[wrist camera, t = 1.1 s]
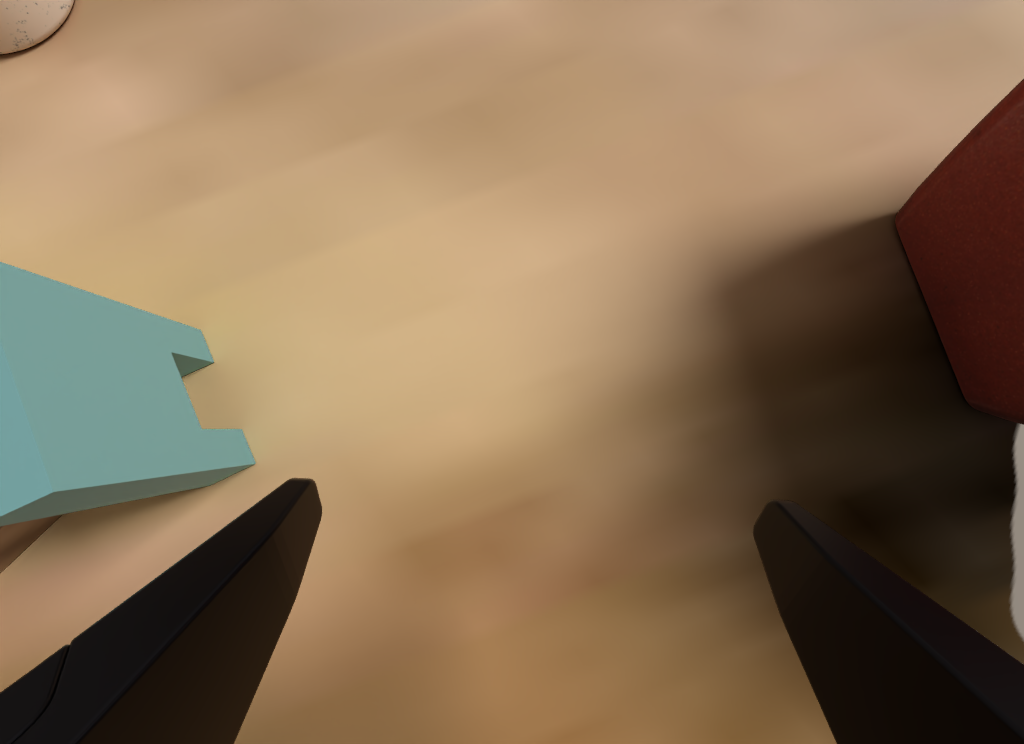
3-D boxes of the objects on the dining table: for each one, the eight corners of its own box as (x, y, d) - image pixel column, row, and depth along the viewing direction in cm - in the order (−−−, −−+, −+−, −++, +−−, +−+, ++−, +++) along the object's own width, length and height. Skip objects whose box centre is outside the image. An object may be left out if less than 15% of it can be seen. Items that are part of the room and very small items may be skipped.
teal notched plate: (255, 463, 22) (53, 491, 12) (209, 485, 21) (-37, 533, 11) (200, 329, 22) (-31, 251, 13) (156, 349, 22) (-117, 284, 12)
